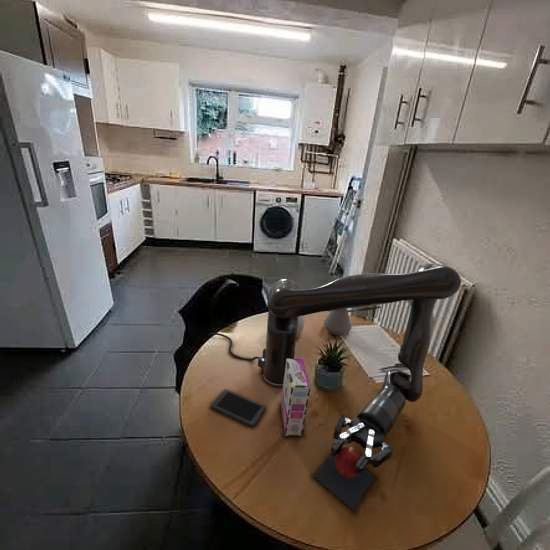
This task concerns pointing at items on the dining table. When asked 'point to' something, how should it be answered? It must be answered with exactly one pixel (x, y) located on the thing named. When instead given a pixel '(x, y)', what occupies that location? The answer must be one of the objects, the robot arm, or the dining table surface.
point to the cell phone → (238, 407)
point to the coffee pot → (341, 320)
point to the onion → (347, 461)
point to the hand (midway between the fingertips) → (344, 461)
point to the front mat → (343, 483)
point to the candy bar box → (294, 397)
